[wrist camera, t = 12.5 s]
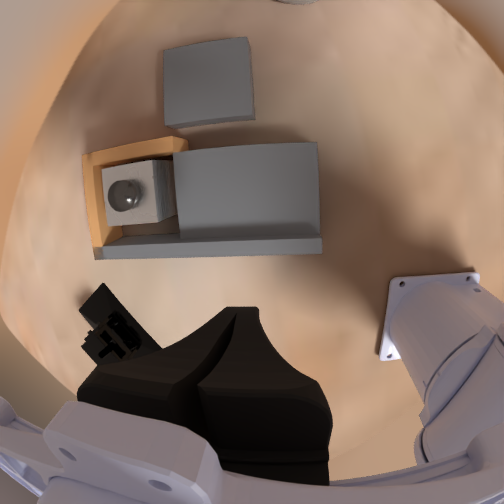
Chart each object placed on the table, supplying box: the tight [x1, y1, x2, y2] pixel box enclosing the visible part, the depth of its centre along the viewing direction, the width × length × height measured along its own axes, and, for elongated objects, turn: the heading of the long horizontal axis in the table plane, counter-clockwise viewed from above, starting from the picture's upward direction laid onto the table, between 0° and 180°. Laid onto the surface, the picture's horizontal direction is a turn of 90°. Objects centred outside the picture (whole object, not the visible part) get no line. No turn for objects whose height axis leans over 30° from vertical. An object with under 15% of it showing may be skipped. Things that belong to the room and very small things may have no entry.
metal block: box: [102, 160, 178, 226], centre depth 19 cm, size 4×4×5 cm
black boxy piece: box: [79, 283, 162, 365], centre depth 24 cm, size 12×7×5 cm, turn 39°
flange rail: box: [82, 136, 322, 260], centre depth 19 cm, size 16×8×3 cm, turn 93°
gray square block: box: [163, 37, 255, 129], centre depth 18 cm, size 6×6×2 cm
